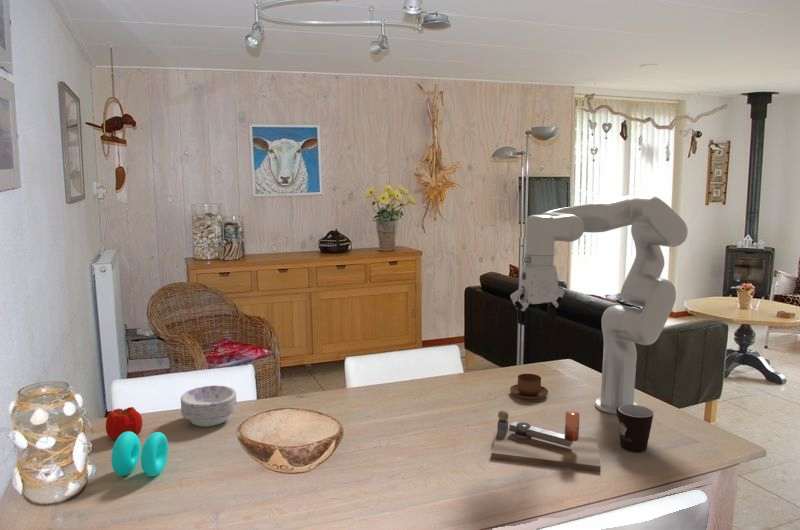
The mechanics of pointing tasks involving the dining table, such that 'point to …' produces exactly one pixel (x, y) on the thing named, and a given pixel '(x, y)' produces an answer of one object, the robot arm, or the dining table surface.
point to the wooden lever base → (544, 449)
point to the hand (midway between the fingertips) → (536, 322)
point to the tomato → (123, 422)
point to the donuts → (129, 453)
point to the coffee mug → (634, 427)
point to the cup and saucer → (529, 387)
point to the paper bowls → (208, 405)
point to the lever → (551, 436)
